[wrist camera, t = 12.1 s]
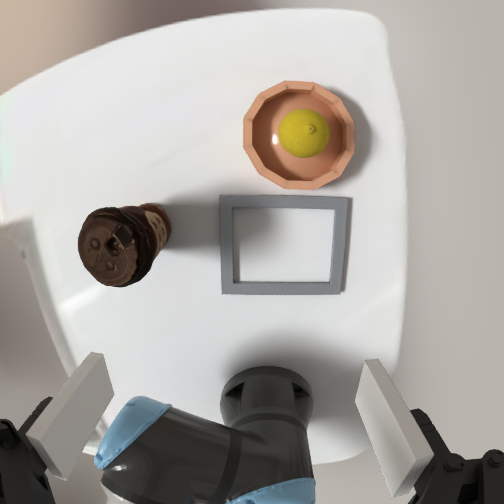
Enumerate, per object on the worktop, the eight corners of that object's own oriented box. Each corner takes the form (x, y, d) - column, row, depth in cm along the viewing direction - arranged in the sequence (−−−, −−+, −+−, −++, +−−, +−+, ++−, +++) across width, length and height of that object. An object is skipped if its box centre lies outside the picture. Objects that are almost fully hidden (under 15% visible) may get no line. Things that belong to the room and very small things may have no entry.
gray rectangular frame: (338, 292, 41) (340, 294, 40) (222, 291, 41) (221, 294, 41) (346, 197, 37) (347, 198, 37) (220, 195, 38) (219, 195, 37)
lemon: (281, 163, 36) (288, 161, 28) (271, 119, 34) (275, 106, 27) (325, 155, 35) (343, 151, 28) (315, 112, 34) (331, 98, 26)
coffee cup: (182, 196, 38) (146, 210, 25) (182, 258, 40) (150, 298, 28) (121, 195, 38) (67, 209, 25) (123, 254, 40) (76, 289, 28)
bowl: (346, 189, 37) (353, 191, 34) (244, 186, 37) (243, 188, 35) (346, 91, 34) (353, 86, 31) (244, 86, 34) (243, 80, 31)
